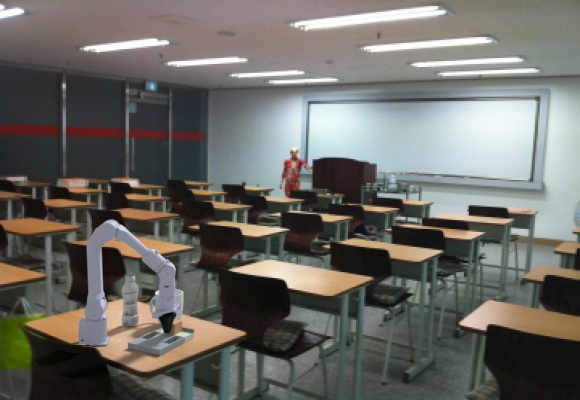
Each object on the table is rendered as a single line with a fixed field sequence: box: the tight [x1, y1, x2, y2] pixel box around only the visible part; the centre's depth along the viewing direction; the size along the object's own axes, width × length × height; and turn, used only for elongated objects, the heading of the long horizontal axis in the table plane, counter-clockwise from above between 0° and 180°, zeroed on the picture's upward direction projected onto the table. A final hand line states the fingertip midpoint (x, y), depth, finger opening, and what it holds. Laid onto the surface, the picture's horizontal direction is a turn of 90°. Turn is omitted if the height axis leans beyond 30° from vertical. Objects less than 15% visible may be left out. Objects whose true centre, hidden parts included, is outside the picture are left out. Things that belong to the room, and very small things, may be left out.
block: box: [168, 319, 183, 335], centre depth 199 cm, size 4×4×4 cm
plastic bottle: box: [121, 274, 140, 328], centre depth 210 cm, size 6×7×20 cm
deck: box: [127, 326, 195, 356], centre depth 193 cm, size 20×14×3 cm
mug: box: [149, 288, 184, 327], centre depth 214 cm, size 15×11×13 cm
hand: (166, 332), depth 196 cm, fingers closed
